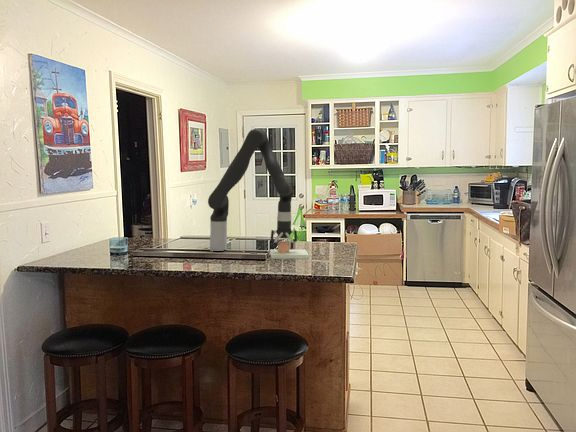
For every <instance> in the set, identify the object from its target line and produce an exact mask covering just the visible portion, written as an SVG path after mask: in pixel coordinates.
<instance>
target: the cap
mask: <svg viewBox="0 0 576 432" xmlns="http://www.w3.org/2000/svg"><path fill="white" fill-rule="evenodd" d="M277 250H278V253H289V250H290V241H285V240H284V241H283V240H281V241H280V240H278V241H277Z"/></svg>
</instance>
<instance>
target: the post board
mask: <svg viewBox="0 0 576 432" xmlns="http://www.w3.org/2000/svg"><path fill="white" fill-rule="evenodd" d="M269 254H270V258H271V259H272V260H273V259H274V260H275V259H278V260H279V259H281V260H282V259H285V260H286V259H287V260H289V259H303V260H304V259H306V260H308V259H310V258H309V257H310V255H309V253H308V251H307V250H306V249H289V253H278V249H269Z"/></svg>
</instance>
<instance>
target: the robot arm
mask: <svg viewBox="0 0 576 432" xmlns="http://www.w3.org/2000/svg"><path fill="white" fill-rule="evenodd" d="M270 143H271V142H270V140H269V138H268V135H267V133H266V131H265V130H264V129H262V128H261V129H260V128H253V129H251V130H250V131H249V132H248V133H247V135H246V137H245V139H244V142H243V143H242V145H241V147H240V149H239V150H238V152H237V153H236V155H235V156H234V158H233V159H232V161H231V162H230V164H229V166H228V168H227V169H226V171H225V173H224V174H223V176H222V178H220V181H219V183H218V184H217V186H216V187H215V188H214V190H213V191H211V192H212V193H211V194H210V195H209V197H208V198H207V199H208V201H207V204H208V206H209V208H210V209H213V211H212V214H211V215H210V220H209V222H210V227H209V228H210V234H209V251H210V252H213V251H223V250H228V249H227V248H228V246H227V245H228V243H227V242H228V240H227V238H228V228H227V227H228V216H229V206H230V205H229V200H230V199H229V197H228V194H229V193H230V191H231V190H232V189H233V188H234V187H235V186H236V185H237V184H238V183H239V182H240V181H241V180H242V179H243V176H244V175H245V174H246V172H247V170H248V168H249V166H250V162H251V158H252V156H253V155H254V153H255V151H256V150H257V149H258V150H259V152H260V153H261V155H262V157H263V160H264V164H265V168H266V169H267V172H268V174H269V176H270V178H271V179H272V182H273V185H274V188H275V191H276V192H277V194H278V195H279V201H278V204H277V216H276V217H277V218H276V220H277V223H276V230H273V229H271V231H270V241H271V242H272V243H273V248H274V250H278V241H279V240H280V239H289V242H290V250H293V249H294V244H295V242H298V234H297V233H298V232H297V229H294V230H292V199H293V198H292V197H293V185H292V184H290V183H289V182H288V181H287V180H286V178H285V173H284V171H283V169H282V168H281V165H280V164H279V162H278V160H277V157H276V155H275V153H274V151H273V148H272V147H271V144H270ZM275 234H277V236H276V237H275V238H274V235H275ZM291 235H293V237H294V238H292V236H291Z"/></svg>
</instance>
